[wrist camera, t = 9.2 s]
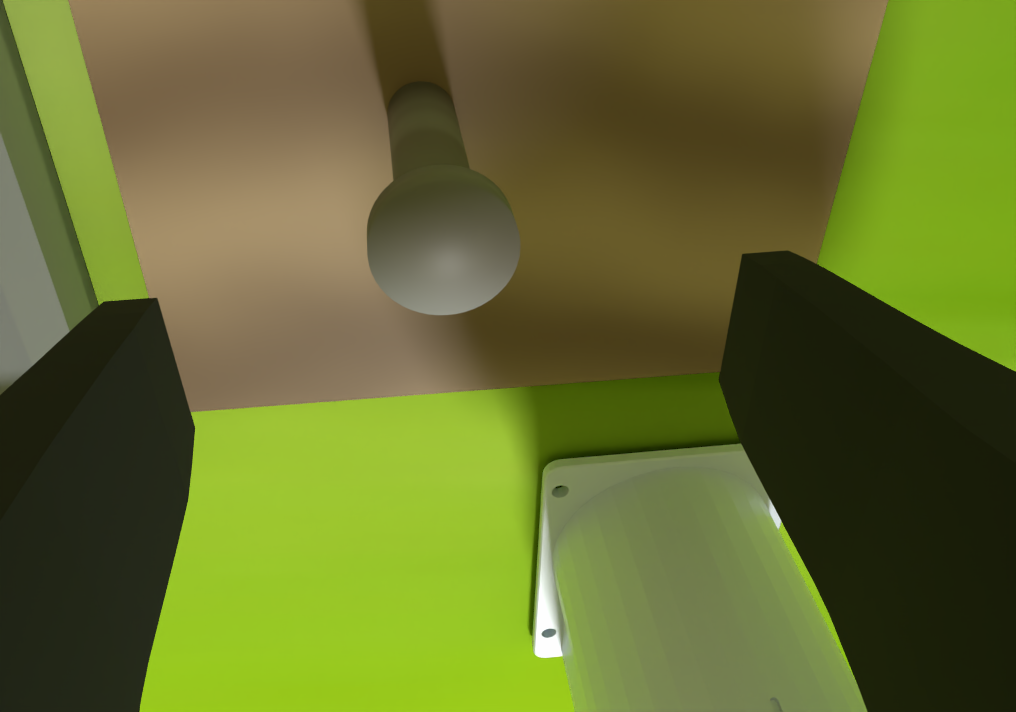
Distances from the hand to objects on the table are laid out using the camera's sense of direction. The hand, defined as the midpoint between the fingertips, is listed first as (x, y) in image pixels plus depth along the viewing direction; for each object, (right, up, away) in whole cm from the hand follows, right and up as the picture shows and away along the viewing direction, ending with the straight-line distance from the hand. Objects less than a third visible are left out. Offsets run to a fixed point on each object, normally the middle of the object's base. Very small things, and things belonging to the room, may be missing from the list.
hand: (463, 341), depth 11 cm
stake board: (0, +6, +8) cm, 10 cm away
